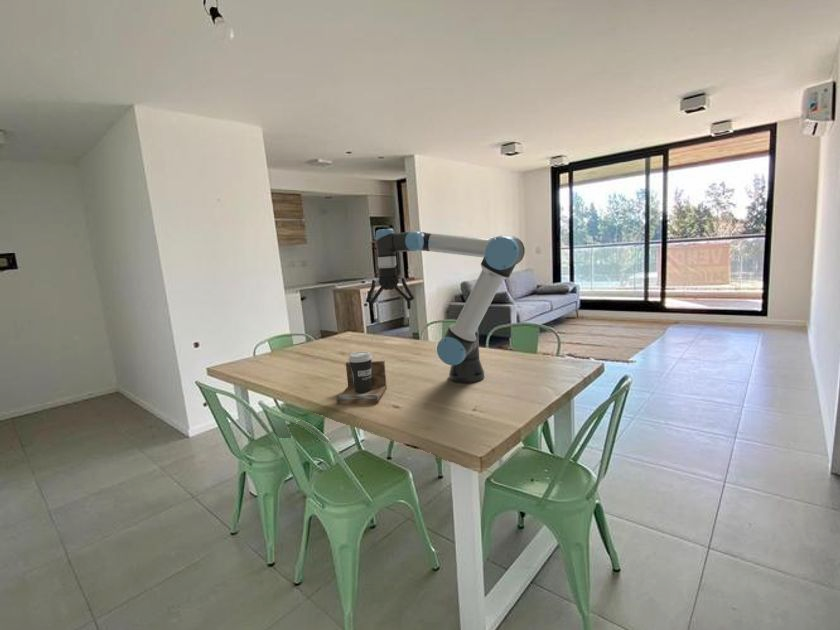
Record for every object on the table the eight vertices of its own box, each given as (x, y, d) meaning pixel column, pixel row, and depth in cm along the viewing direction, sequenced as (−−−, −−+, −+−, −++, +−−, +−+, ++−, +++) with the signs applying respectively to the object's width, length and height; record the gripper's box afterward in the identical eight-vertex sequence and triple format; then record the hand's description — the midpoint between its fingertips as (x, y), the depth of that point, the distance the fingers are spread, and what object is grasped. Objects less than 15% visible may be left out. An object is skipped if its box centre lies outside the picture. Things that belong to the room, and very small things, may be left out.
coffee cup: (352, 395, 164) (349, 358, 162) (350, 388, 173) (346, 352, 171) (377, 392, 166) (373, 355, 164) (373, 385, 176) (370, 349, 173)
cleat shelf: (386, 388, 176) (384, 360, 174) (378, 403, 160) (375, 372, 158) (349, 389, 178) (346, 362, 176) (337, 404, 162) (334, 374, 160)
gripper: (418, 264, 177) (422, 314, 180) (360, 268, 180) (364, 317, 183) (416, 265, 170) (420, 317, 173) (355, 269, 173) (360, 320, 176)
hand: (391, 317), depth 178 cm, fingers open, 13 cm apart
